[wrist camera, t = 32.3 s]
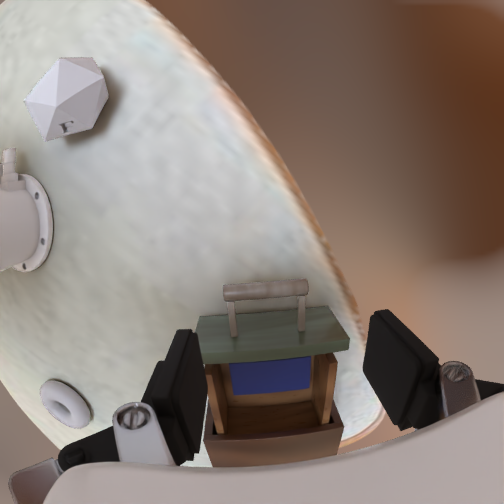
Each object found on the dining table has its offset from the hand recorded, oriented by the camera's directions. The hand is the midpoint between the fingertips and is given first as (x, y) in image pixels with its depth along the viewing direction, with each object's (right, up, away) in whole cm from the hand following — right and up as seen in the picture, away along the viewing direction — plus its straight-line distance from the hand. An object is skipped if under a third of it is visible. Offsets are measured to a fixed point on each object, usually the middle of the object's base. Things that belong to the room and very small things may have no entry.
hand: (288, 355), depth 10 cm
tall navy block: (0, -8, +18) cm, 20 cm away
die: (-20, +20, +13) cm, 31 cm away
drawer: (0, -6, +19) cm, 20 cm away
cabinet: (+1, -20, +23) cm, 31 cm away
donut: (-32, -20, +22) cm, 44 cm away
